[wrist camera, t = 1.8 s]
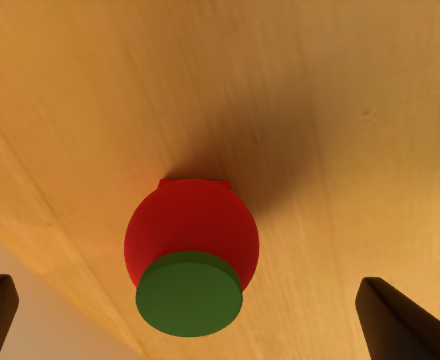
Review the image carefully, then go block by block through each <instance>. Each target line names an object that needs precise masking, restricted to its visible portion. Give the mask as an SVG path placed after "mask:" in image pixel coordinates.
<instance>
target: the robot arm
mask: <svg viewBox="0 0 440 360" xmlns="http://www.w3.org/2000/svg"><path fill="white" fill-rule="evenodd" d="M18 304H19V298H18V294H17V291H16V288H15V285H14V283H13V279H12V277H11V276H10V275H7V274H0V351H1V348H2V346H3V343H4V341H5V338H6V336H7V333H8V331H9V328H10V326H11V323H12V321H13V318H14V315H15V313H16V311H17V308H18ZM355 305H356V310H357V313H358V317H359V320H360V323H361V327H362V330H363V333H364V337H365V340H366V343H367V347H368V350H369V353H370V357H371V360H440V321H439V320H438V319H437V318H435V317H434V316H432V315H431V314H430V313H428V312H427V311H426V310H424V309H423V308H422V307H420V306H419V305H417V304H416V303H415V302H413V301H412V300H411V299H409V298H408V297H406V296H405V295H404V294H402V293H401V292H400V291H398V290H397V289H395V288H394V287H393V286H391V285H390V284H389V283H387V282H386V281H384V280H383V279H382V278H379V277H364V278H363V279H362V281H361V284H360V287H359V290H358V293H357V296H356V300H355Z"/></svg>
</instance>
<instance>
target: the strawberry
mask: <svg viewBox="0 0 440 360" xmlns="http://www.w3.org/2000/svg"><path fill="white" fill-rule="evenodd" d="M124 257H125V262H126V267H127V270H128V273H129V275H130V278H131V280H132V282H133V284H134V285H135V287H136V288H137V291H136V305H137V308H138V311H139V313H140V314H141V316H142V317H143V319H144V320H145V321H146V322H147V323H148V324H149V325H151V326H152V327H154V328H155V329H157V330H159V331H161V332H164V333H166V334H169V335H174V336H179V337H199V336H205V335H209V334H212V333H215V332H217V331H220V330H221V329H223V328H225V327H226V326H228V325H229V324H230V323H231V322H232V321H233V320H234V319H235V318H236V317H237V315H238V313H239V312H240V309H241V306H242V302H243V295H242V292H243V291H244V290H245V288H246V287H247V286H248V284H249V282H250V280H251V279H252V277H253V275H254V272H255V270H256V266H257V263H258V258H259V236H258V230H257V227H256V224H255V221H254V218H253V216H252V214H251V212H250V211H249V209H248V208H247V206H246V205H245V203H244V202H243V201H242V200H241V199H240V198H239V197H238V196H237V195H236V194H234V193H233V192H232V190H231V183H230V181H214V180H203V179H184V180H171V179H161V180H160V182H159V185H158V189H156V190H155V191H154V192H152V193H151V194H150V195H148V196H147V197H146V198H145V199H144V200H143V201H142V202H141V204H140V205H139V206H138V207H137V209H136V210H135V212H134V214H133V216H132V218H131V220H130V222H129V224H128V227H127V231H126V235H125V241H124Z"/></svg>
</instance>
